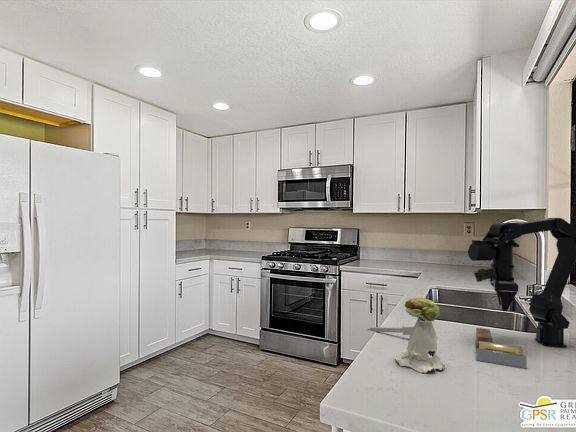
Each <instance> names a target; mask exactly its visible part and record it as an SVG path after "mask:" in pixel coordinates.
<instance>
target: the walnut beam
mask: <svg viewBox="0 0 576 432" xmlns="http://www.w3.org/2000/svg"><path fill="white" fill-rule="evenodd" d="M475 329H476V330H475V342H479V341H482V342H489V343H494V342H493V339H494V338H493V335H492V332H491V329H489V328H488V329H487V328H481V327H476V328H475Z"/></svg>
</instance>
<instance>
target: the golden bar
mask: <svg viewBox="0 0 576 432" xmlns="http://www.w3.org/2000/svg"><path fill="white" fill-rule="evenodd" d="M479 348H480V349H486V350H493V351H499V352H506V353H513V354H519V355H522V349H523V348H522V346H517V345H509V344H501V343H495V342H492V343H489V342H482V341H479Z"/></svg>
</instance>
